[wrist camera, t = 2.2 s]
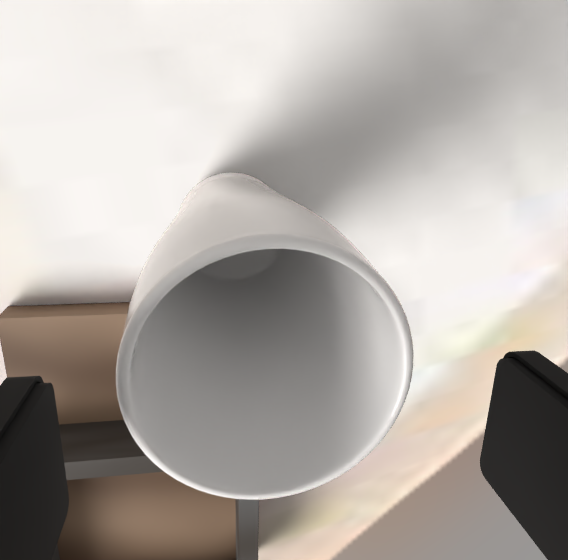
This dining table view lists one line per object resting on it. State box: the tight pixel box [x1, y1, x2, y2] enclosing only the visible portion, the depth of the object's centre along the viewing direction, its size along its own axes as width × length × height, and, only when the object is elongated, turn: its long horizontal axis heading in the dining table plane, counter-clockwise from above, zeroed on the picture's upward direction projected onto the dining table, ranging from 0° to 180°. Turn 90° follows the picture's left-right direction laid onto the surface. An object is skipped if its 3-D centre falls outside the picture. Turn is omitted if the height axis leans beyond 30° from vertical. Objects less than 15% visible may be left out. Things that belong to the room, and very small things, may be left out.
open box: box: [0, 302, 259, 560], centre depth 26 cm, size 18×12×4 cm, turn 178°
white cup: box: [116, 172, 413, 500], centre depth 18 cm, size 7×7×15 cm
